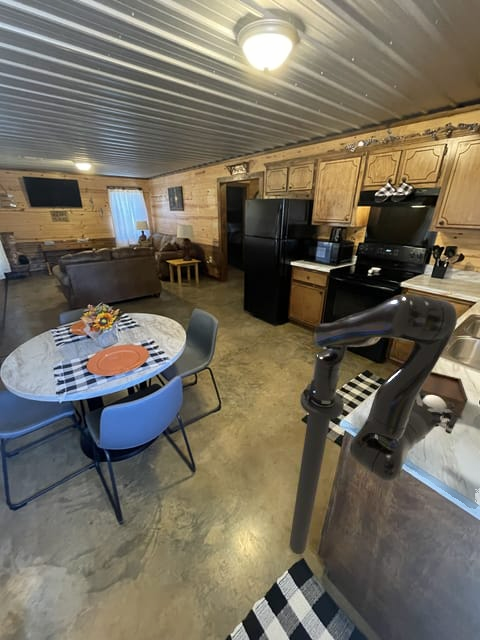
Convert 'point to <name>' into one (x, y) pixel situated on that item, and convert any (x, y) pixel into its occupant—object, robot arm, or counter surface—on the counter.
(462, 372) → the counter surface
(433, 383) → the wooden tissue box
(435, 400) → the lightbulb
